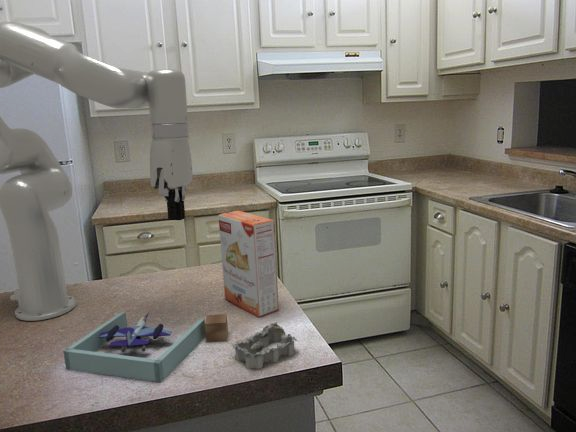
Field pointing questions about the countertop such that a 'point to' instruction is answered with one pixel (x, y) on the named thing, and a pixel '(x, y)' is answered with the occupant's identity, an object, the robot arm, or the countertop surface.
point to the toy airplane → (134, 334)
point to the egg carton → (262, 340)
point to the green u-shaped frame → (88, 360)
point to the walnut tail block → (216, 328)
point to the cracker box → (249, 261)
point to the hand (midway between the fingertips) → (176, 219)
